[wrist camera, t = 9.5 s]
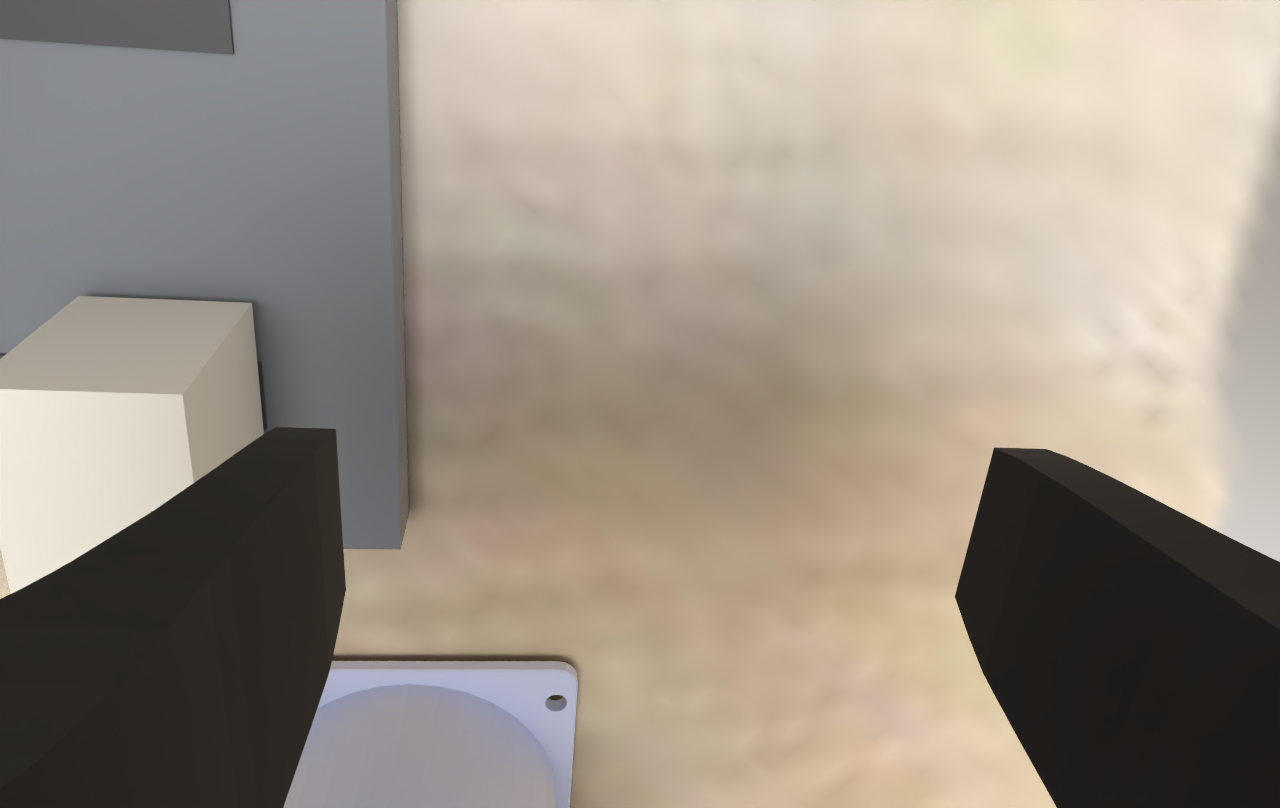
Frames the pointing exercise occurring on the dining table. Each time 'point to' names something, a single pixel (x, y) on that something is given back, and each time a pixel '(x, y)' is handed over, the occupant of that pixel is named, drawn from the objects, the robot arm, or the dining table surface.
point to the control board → (223, 198)
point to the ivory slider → (117, 419)
